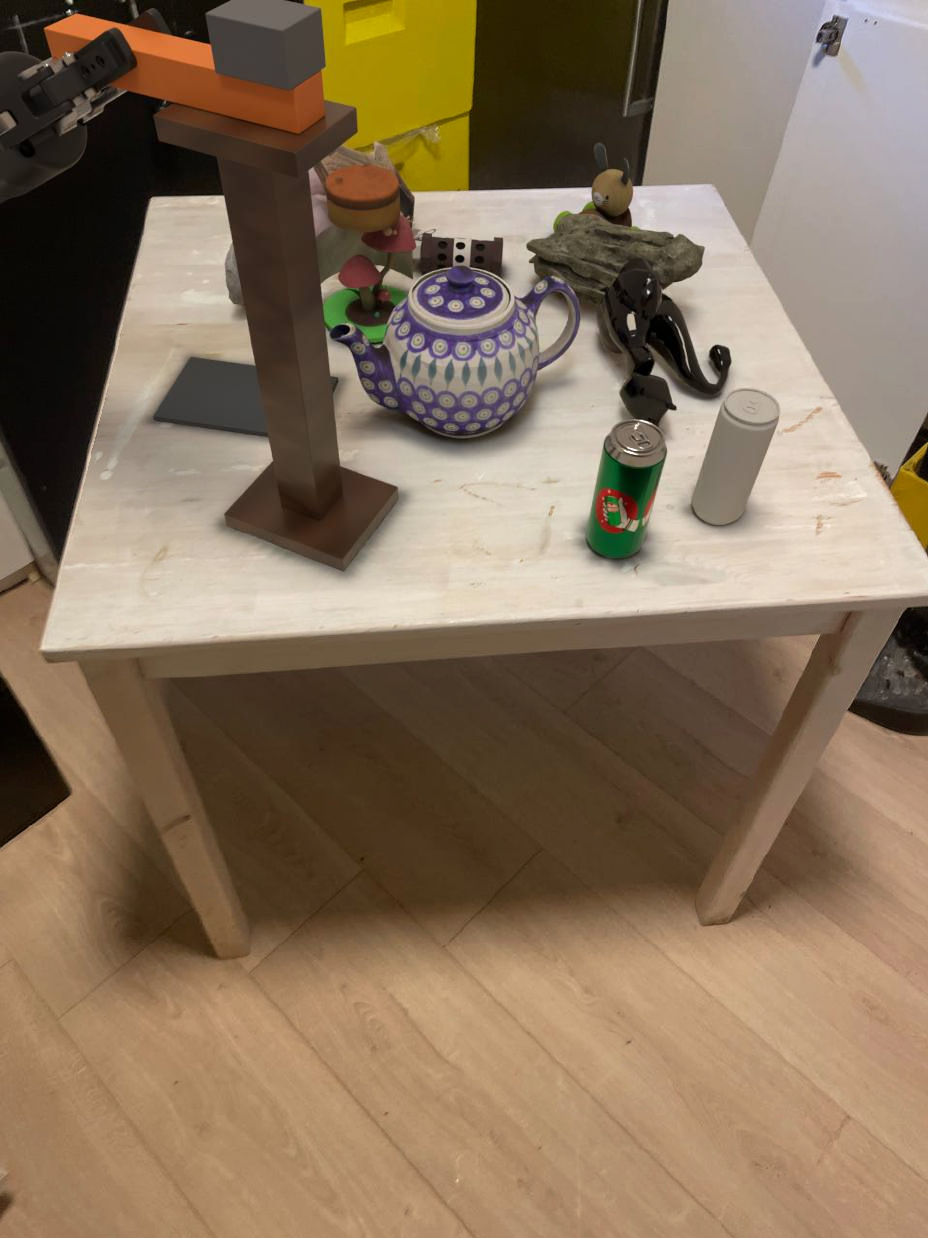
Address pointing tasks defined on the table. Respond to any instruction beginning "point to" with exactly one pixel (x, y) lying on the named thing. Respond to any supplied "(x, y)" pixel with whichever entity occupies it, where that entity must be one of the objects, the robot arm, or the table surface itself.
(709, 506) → the beverage can
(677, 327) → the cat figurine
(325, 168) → the fragment
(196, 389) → the grey mat
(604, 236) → the stone
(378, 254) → the mushroom terrarium
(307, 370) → the walnut stand
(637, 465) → the soda can
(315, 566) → the table surface
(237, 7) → the hammer with orange handle
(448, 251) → the brown holed brick
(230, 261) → the stone
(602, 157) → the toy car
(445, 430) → the teapot
